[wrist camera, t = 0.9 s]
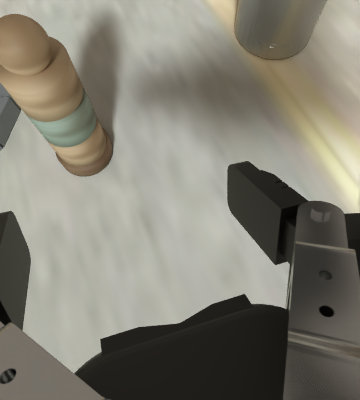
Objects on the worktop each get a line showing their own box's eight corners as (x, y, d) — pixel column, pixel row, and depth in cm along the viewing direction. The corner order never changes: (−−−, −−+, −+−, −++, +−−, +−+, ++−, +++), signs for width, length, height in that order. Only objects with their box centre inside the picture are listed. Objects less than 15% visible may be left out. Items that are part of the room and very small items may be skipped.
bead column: (70, 125, 36) (-17, -18, 20) (119, 135, 35) (67, -5, 20) (53, 170, 34) (-58, 51, 18) (103, 181, 33) (33, 67, 18)
